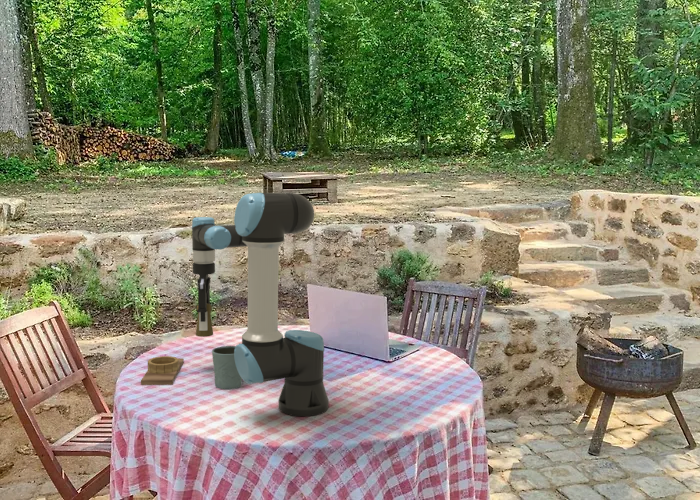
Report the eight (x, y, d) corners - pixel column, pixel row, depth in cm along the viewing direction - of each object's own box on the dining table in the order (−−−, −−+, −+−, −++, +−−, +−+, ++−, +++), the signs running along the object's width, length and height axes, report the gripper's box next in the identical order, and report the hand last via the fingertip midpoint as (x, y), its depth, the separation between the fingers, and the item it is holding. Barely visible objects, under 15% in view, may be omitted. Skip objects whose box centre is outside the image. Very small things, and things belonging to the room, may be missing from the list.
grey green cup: (236, 391, 208) (236, 355, 207) (207, 388, 210) (206, 352, 209) (247, 381, 218) (247, 346, 217) (219, 378, 220) (219, 344, 219)
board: (172, 384, 213) (171, 371, 213) (140, 385, 212) (140, 371, 212) (183, 362, 237) (183, 350, 236) (155, 362, 236) (155, 350, 235)
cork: (209, 337, 223) (208, 305, 221) (192, 336, 224) (192, 304, 223) (216, 333, 229) (215, 302, 227) (200, 331, 230) (199, 301, 228)
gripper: (196, 258, 232) (197, 322, 235) (188, 266, 214) (189, 334, 217) (217, 258, 232) (218, 322, 235) (211, 266, 215) (212, 334, 217)
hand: (204, 328), depth 226 cm, fingers closed on cork, 5 cm apart
